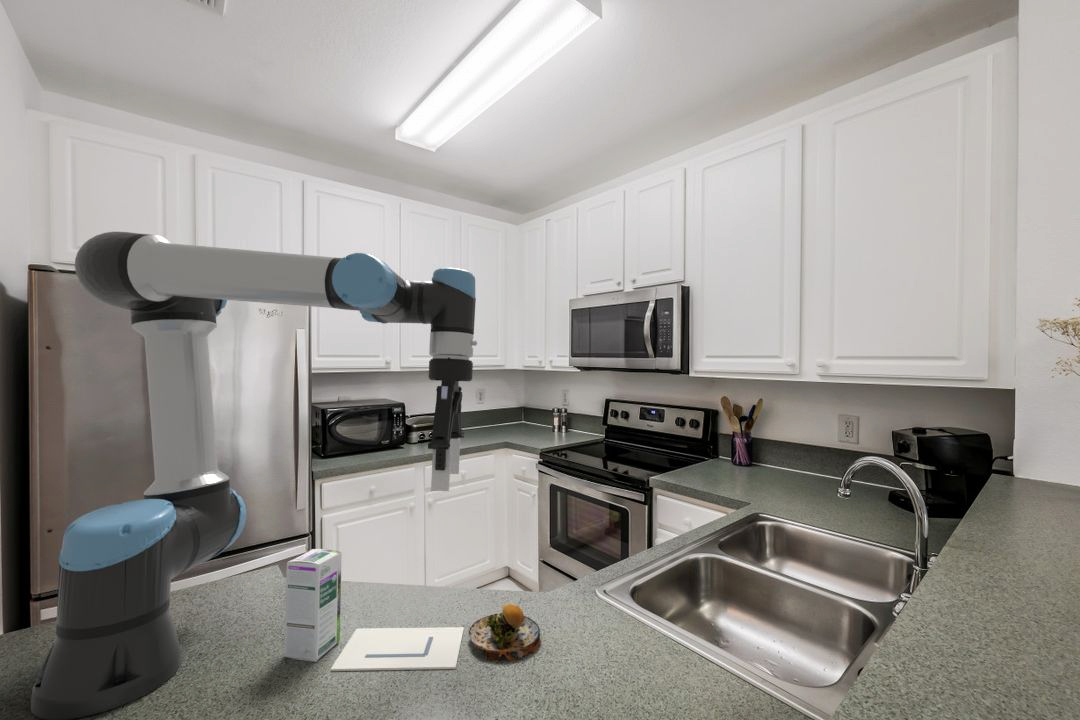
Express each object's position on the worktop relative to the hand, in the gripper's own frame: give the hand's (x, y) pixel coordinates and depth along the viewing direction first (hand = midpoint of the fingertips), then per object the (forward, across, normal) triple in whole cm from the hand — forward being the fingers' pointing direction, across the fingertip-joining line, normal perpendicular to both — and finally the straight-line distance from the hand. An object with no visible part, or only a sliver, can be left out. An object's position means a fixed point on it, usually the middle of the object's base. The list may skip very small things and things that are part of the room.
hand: (446, 481), depth 79 cm
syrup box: (+26, -5, +19) cm, 32 cm away
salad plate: (+25, -3, -11) cm, 28 cm away
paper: (+25, -5, +5) cm, 26 cm away
